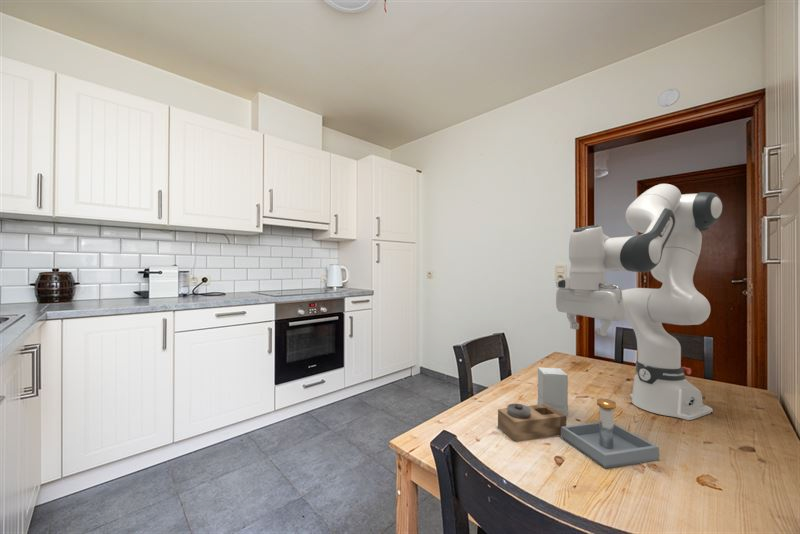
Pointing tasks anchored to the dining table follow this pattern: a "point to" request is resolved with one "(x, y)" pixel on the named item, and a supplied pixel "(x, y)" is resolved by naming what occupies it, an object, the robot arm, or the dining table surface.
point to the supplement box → (553, 388)
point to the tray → (623, 452)
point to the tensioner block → (530, 421)
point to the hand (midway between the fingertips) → (587, 332)
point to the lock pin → (606, 422)
